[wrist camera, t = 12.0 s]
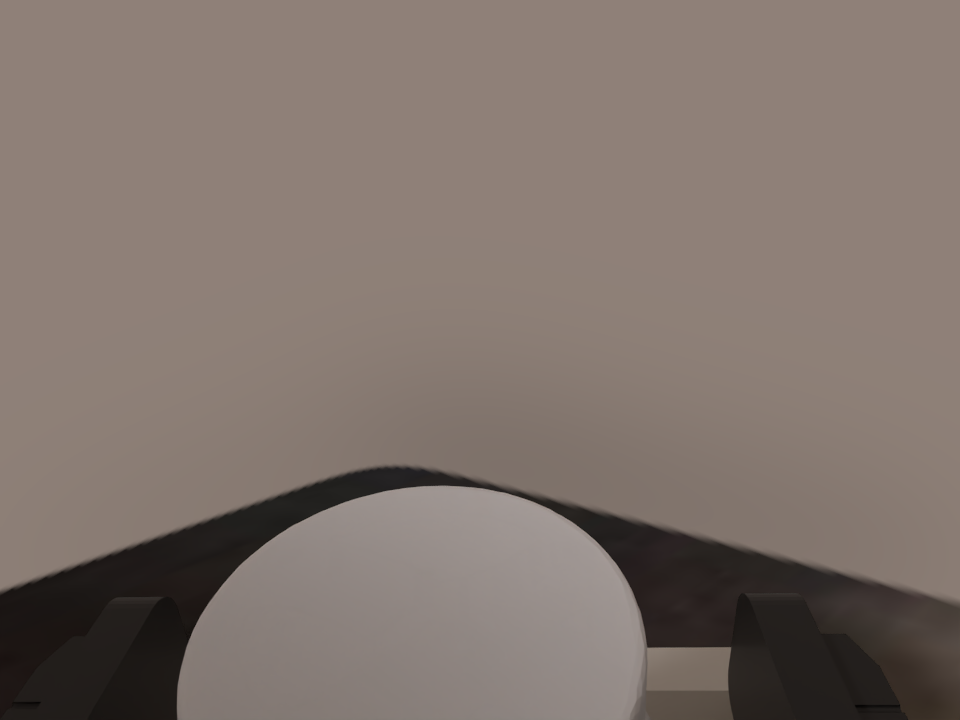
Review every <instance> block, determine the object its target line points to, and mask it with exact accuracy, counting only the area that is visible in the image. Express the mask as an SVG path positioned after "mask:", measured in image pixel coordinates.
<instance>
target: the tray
mask: <svg viewBox="0 0 960 720" xmlns="http://www.w3.org/2000/svg"><path fill="white" fill-rule="evenodd" d="M730 653H731V647H705V648H647V661H648V664H647V686H646V712H647V714H648V715H649V717H650V719H651V720H734V719H733V715H732V710H731V705H730V698H729V690H728V668H729V660H730Z"/></svg>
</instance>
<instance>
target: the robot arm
mask: <svg viewBox="0 0 960 720" xmlns="http://www.w3.org/2000/svg"><path fill="white" fill-rule="evenodd" d="M187 645H188V639H187V636H186V633H185V630H184V627H183V624H182V621H181V618H180V615H179V612H178V608H177V606H176V604H175V602H174V600H172V599H171V598H169V597H118V598H114V599H113V600H111V601H110V602H109V603H108V604H107V605H106V606H105V608H104V609H103V611H102V612H101V614H100V615H99V616H98V618H97V619H96V621H95V622H94V624H93V625H92V627H91V628H90V630H89V631H88V633H87V634H86V636H73V637H72V638H70V639H69V640H68V641H67V642H66V643H65V644H63V645H62V646H61V647H60V648H59V649H57V650H56V651H55V652H54V653H53V654H52V655H50V656H49V657H48V658H47V659H46V660H45V661H43V662H42V663H41V664H40V665H39V666H38V667H37V668H36V669H35V671H34V672H33V674H32V675H31V676H30V678H29V679H28V681H27V682H26V683H25V685H24V686H23V688H22V689H21V691H20V692H19V693H18V695H17V696H16V698H15V699H14V700H13V706H12V708H11V709H7V710H6V712H5V713H4V714H3V716H2V717H1V719H0V720H177V689H178V681H179V675H180V670H181V666H182V662H183V658H184V655H185V651H186V647H187ZM728 690H729V698H730V705H731V710H732V715H733V719H734V720H908V718H907V716H906V715H905V713H902V712H901V709H900V704H899V702H898V700H897V698H896V696H895V694H894V692H893V691H892V689H891V687H890V685H889V683H888V681H887V679H886V678H885V676H884V674H883V672H882V670H881V668H880V666H879V665H878V664H876V663H875V662H874V661H873V660H872V659H871V658H870V657H869V656H868V655H867V654H866V653H865V652H864V651H863V650H862V649H861V648H860V647H859V646H858V645H857V644H856V643H855V642H854V641H853V640H851V639H850V638H849V637H848V636H847V635H846V634H820V631H819V629H818V627H817V625H816V623H815V621H814V619H813V617H812V615H811V612H810V610H809V608H808V606H807V604H806V602H805V600H804V599H803V598H802V596H801V595H800V594H798V593H752V594H741V595H740V596H739V599H738V603H737V609H736V616H735V624H734V631H733V638H732V646H731V653H730V660H729V668H728Z"/></svg>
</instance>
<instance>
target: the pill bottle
mask: <svg viewBox="0 0 960 720" xmlns="http://www.w3.org/2000/svg"><path fill="white" fill-rule="evenodd" d="M647 664H648V661H647V643H646V636H645V630H644V625H643V621H642V617H641V612H640V610H639V607H638V605H637V602H636V600H635V597H634V594H633V592H632V590H631V588H630V586H629V584H628V582H627V580H626V578H625V577H624V575H623V574H622V572H621V571H620V569H619V567H618V566H617V564H616V563H615V562H614V561H613V559H612V558H611V557H610V556H609V555H608V554H607V552H606V551H605V550H604V549H603V548H602V547H601V546H600V545H599V544H598V543H597V542H596V541H595V540H594V539H593V538H592V537H590V536H589V535H588V534H587V533H586V532H584V531H583V530H582V529H580V528H579V527H578V526H577V525H575V524H574V523H573V522H571V521H569V520H568V519H566V518H564V517H563V516H561V515H559V514H557V513H555V512H553V511H552V510H550V509H548V508H546V507H543V506H541V505H539V504H537V503H534V502H532V501H529V500H526V499H523V498H520V497H517V496H513V495H510V494H507V493H502V492H496V491H492V490H487V489H480V488H471V487H457V486H424V487H414V488H403V489H397V490H391V491H384V492H381V493H377V494H373V495H369V496H365V497H360V498H357V499H354V500H351V501H348V502H345V503H342V504H339V505H337V506H334V507H332V508H329V509H327V510H324V511H322V512H320V513H318V514H315V515H313V516H311V517H309V518H307V519H305V520H303V521H301V522H299V523H297V524H295V525H293V526H291V527H290V528H288V529H287V530H285V531H284V532H282V533H280V534H279V535H277V536H276V537H275V538H273V539H272V540H270V541H269V542H267V543H266V544H265V545H263V546H262V547H261V548H260V549H258V550H257V551H256V552H255V553H254V554H252V555H251V556H250V557H249V558H248V559H247V560H245V561H244V562H243V563H242V564H241V565H240V566H239V567H238V568H237V569H236V570H235V571H234V572H233V574H232V575H231V576H230V577H229V578H228V579H227V580H226V581H225V583H224V584H223V585H222V586H221V588H220V589H219V590H218V592H217V593H216V594H215V596H214V597H213V598H212V600H211V601H210V602H209V604H208V605H207V607H206V608H205V610H204V611H203V613H202V615H201V616H200V618H199V620H198V622H197V624H196V626H195V628H194V630H193V632H192V635H191V637H190V640H189V642H188V645H187V647H186V651H185V655H184V658H183V662H182V666H181V670H180V675H179V681H178V689H177V720H651V719H650V717H649V715H648V714H647V712H646V686H647Z"/></svg>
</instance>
